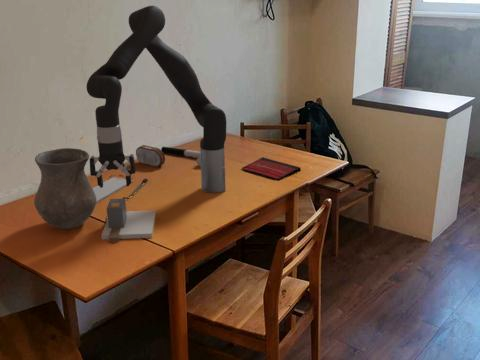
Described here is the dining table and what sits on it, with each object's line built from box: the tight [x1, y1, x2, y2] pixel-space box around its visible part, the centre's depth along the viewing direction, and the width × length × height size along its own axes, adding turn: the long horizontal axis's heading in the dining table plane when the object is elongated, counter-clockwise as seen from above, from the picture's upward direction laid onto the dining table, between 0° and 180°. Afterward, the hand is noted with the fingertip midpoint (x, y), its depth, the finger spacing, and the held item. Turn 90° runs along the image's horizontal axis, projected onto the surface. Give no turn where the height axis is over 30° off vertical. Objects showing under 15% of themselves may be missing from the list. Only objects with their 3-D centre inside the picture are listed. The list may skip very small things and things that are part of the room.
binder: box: [241, 156, 302, 181], centre depth 235 cm, size 16×2×21 cm
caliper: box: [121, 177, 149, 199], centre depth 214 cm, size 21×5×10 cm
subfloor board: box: [101, 210, 157, 243], centre depth 184 cm, size 16×22×2 cm
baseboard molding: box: [92, 174, 134, 204], centre depth 212 cm, size 31×3×12 cm
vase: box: [33, 147, 97, 231], centre depth 182 cm, size 20×19×25 cm
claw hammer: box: [160, 146, 201, 168], centre depth 253 cm, size 6×22×30 cm
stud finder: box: [106, 197, 127, 228], centre depth 183 cm, size 5×8×7 cm, turn 4°
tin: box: [135, 144, 166, 168], centre depth 241 cm, size 15×3×8 cm, turn 58°
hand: (114, 186), depth 179 cm, fingers open, 8 cm apart
